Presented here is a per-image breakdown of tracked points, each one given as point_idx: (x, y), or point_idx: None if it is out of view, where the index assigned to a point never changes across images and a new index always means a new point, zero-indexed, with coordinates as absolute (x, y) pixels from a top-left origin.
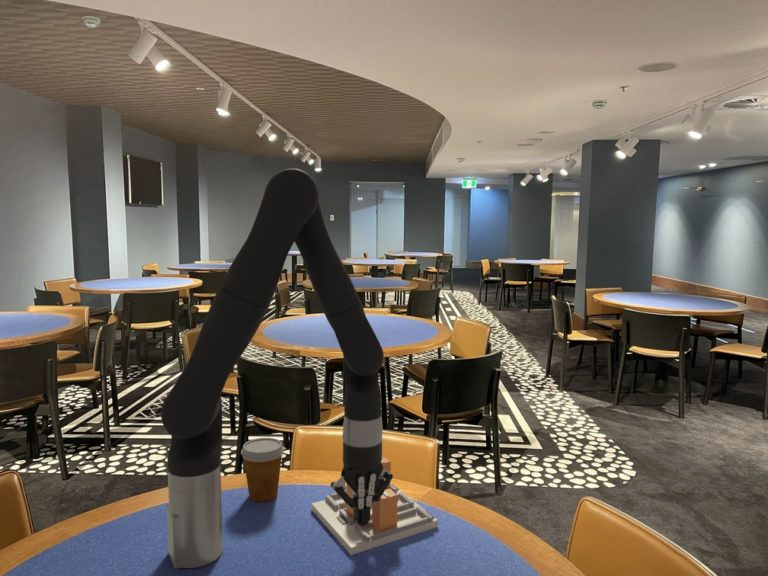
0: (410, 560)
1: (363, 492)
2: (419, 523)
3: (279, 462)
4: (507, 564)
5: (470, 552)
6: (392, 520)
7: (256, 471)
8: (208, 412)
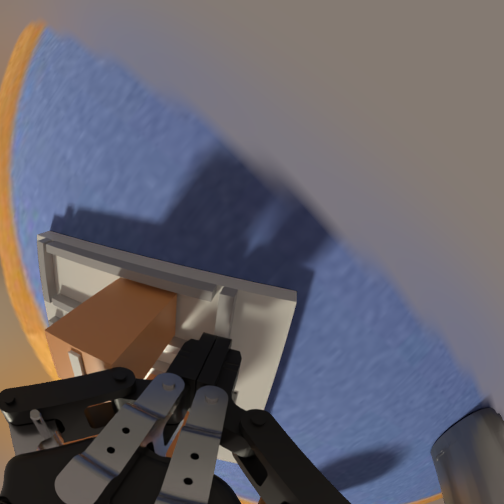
0: (170, 152)
1: (181, 449)
2: (67, 247)
3: None
4: (53, 47)
5: (58, 106)
6: (117, 293)
7: None
8: None
